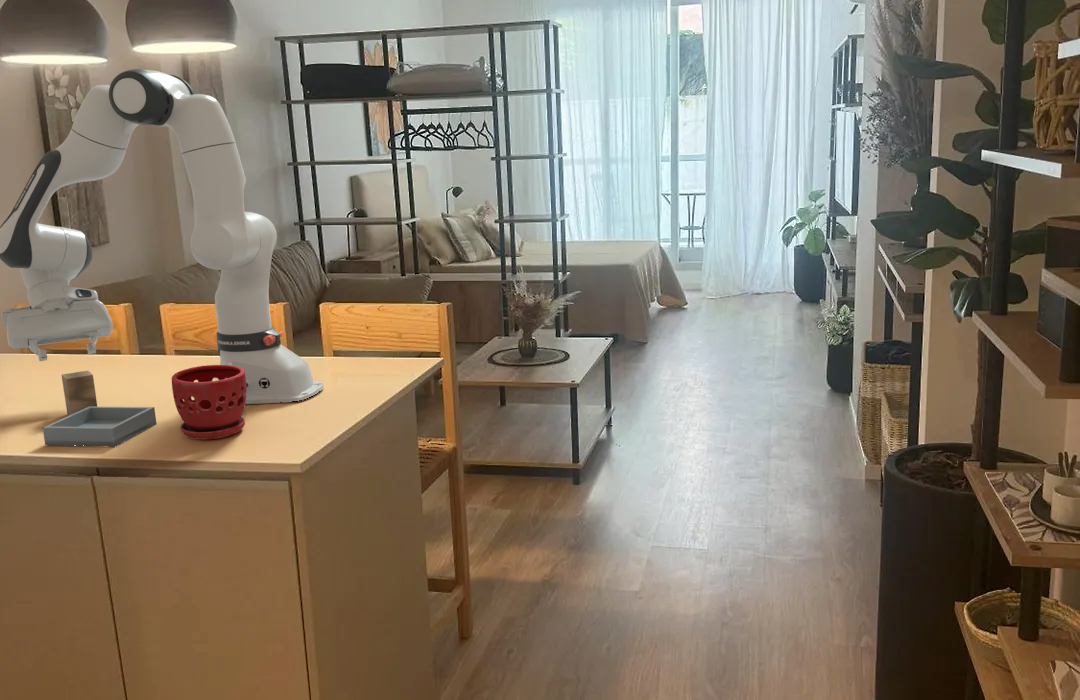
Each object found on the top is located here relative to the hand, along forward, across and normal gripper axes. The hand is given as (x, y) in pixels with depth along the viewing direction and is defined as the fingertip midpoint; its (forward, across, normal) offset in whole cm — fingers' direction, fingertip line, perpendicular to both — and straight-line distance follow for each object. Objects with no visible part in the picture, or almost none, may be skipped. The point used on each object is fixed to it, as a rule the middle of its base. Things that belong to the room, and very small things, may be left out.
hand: (68, 355), depth 198 cm
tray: (+26, 0, -10) cm, 28 cm away
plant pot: (+36, +17, -20) cm, 45 cm away
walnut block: (+13, 0, +3) cm, 14 cm away
